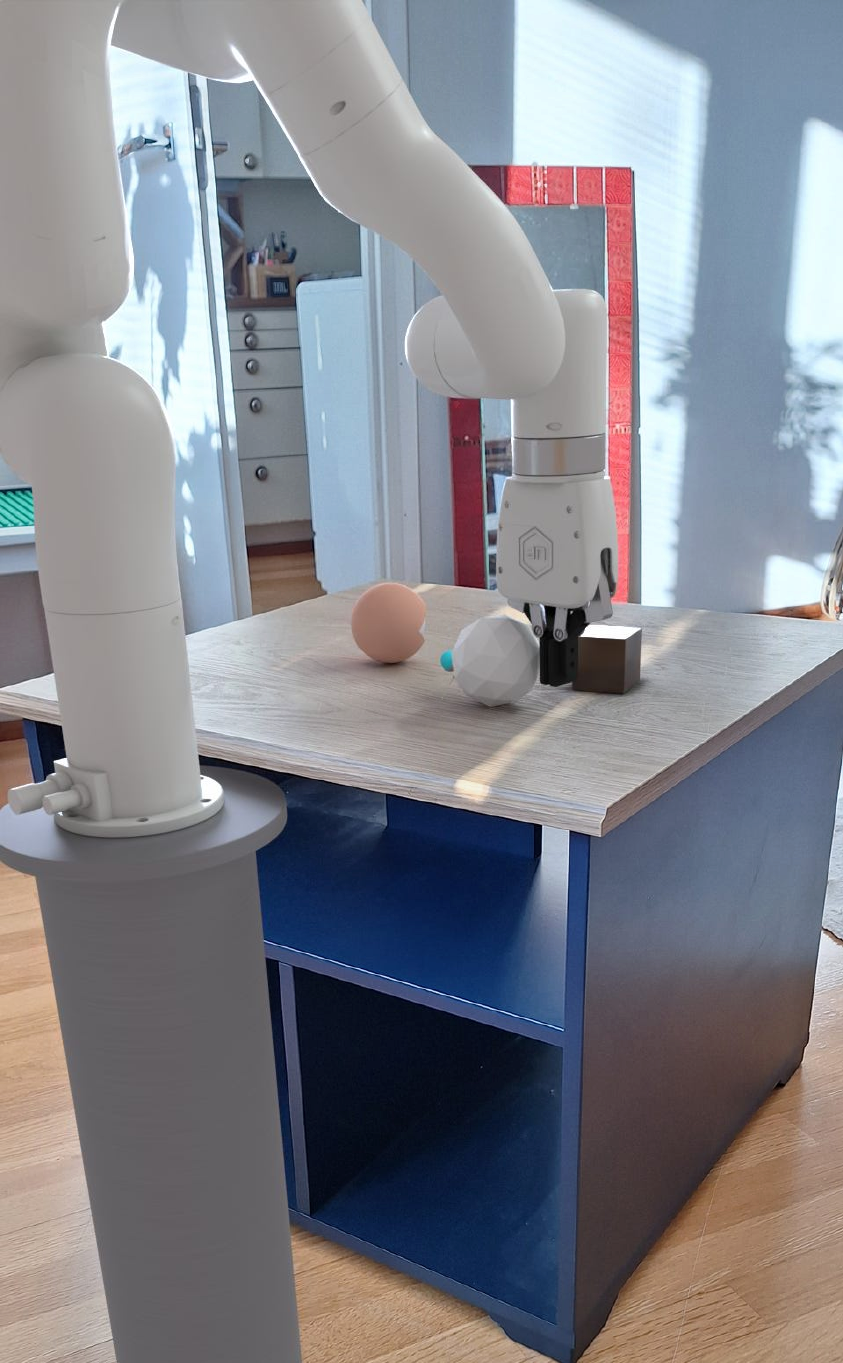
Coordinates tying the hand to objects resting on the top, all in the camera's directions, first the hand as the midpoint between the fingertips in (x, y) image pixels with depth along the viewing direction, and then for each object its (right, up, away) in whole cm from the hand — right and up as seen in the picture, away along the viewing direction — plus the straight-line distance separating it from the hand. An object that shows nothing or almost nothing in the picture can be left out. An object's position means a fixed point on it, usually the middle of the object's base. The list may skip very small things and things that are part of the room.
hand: (558, 682), depth 112 cm
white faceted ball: (-6, -1, +5) cm, 8 cm away
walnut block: (+5, +1, +8) cm, 10 cm away
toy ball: (-15, +5, +20) cm, 26 cm away
